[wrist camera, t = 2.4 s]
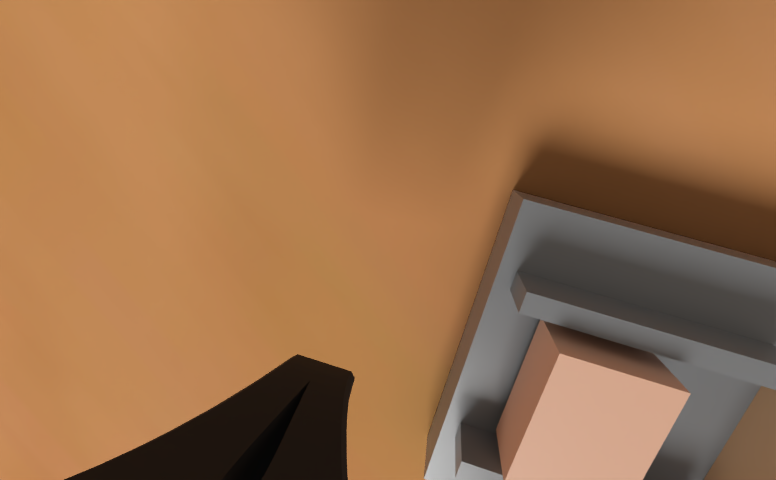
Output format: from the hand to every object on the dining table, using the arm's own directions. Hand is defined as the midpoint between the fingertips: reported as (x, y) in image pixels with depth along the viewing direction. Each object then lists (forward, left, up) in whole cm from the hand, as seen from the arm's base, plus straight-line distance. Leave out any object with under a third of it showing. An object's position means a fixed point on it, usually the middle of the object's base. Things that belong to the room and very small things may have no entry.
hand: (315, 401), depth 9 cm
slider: (0, -7, -4) cm, 8 cm away
